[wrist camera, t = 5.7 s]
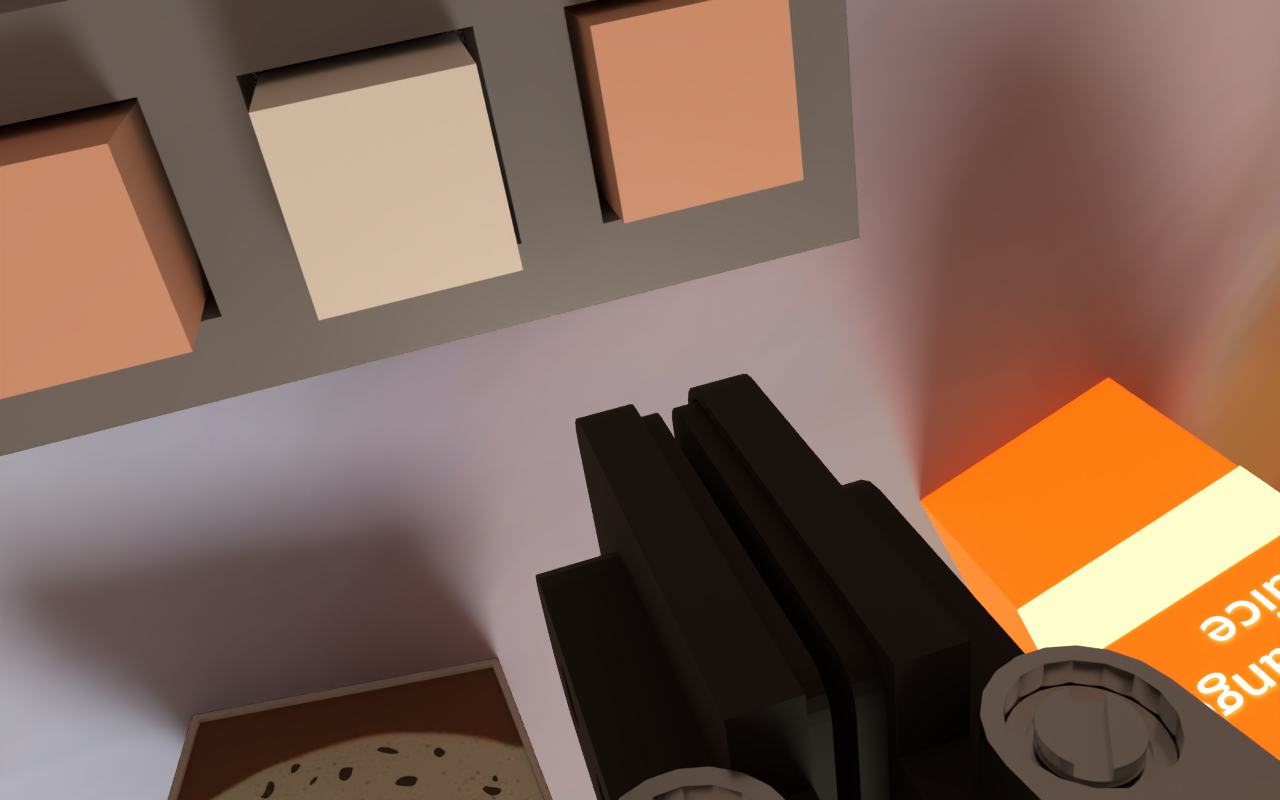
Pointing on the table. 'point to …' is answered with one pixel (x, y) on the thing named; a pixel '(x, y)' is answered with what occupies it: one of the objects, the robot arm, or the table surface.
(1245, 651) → the orange juice
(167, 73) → the control panel
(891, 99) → the table surface
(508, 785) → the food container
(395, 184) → the middle button
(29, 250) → the outer button
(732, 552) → the robot arm
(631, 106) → the inner button
